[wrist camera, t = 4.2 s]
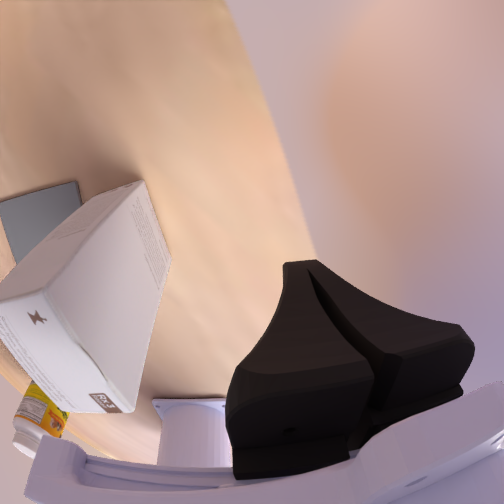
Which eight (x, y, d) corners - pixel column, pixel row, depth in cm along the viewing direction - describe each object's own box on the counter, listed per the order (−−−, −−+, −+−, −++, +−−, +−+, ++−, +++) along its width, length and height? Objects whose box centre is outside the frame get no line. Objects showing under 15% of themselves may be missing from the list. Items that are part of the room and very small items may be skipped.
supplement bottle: (78, 403, 28) (56, 471, 19) (40, 386, 27) (13, 450, 17) (75, 378, 25) (46, 455, 16) (33, 360, 24) (-2, 430, 15)
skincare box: (90, 196, 17) (-32, 303, 6) (149, 175, 17) (37, 281, 6) (123, 275, 20) (55, 414, 9) (179, 261, 20) (136, 418, 9)
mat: (110, 295, 21) (108, 297, 20) (33, 298, 21) (32, 300, 20) (76, 180, 17) (74, 182, 16) (-1, 202, 17) (-3, 204, 16)
